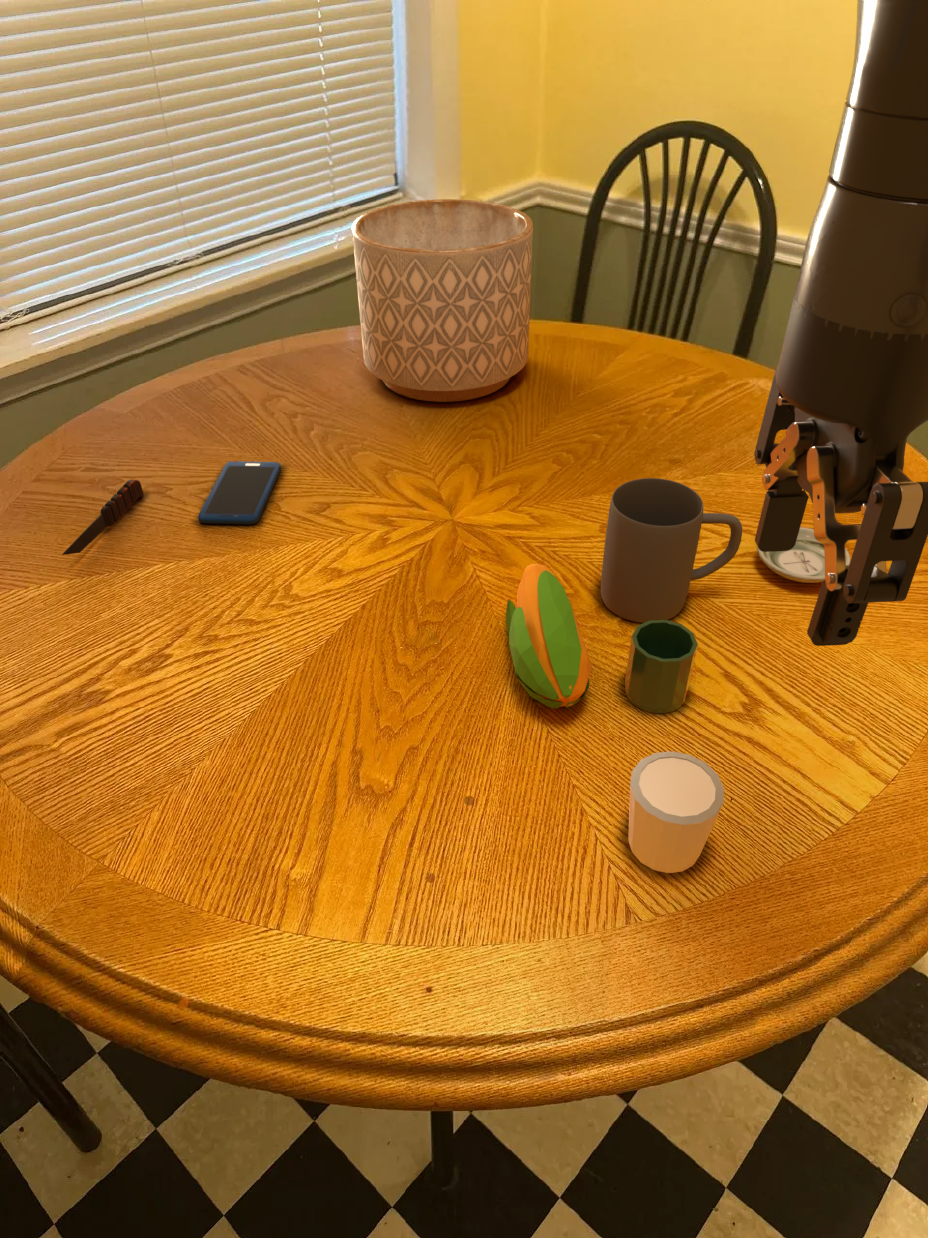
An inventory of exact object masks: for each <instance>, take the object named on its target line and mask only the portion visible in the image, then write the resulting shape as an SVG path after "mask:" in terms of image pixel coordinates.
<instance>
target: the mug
mask: <svg viewBox="0 0 928 1238" xmlns="http://www.w3.org/2000/svg"><path fill="white" fill-rule="evenodd" d="M708 524H711V525H712V524H714V525H717V524H718V525H720V524H721V525H727V526H728V527H729V530H730V533H729V539H728V543H727V545H726V548H725V549H724V550H723V551H722V552H721V553H720V554H719V555H717V556H716V557H715V558H713V559H712V560H711V561H709V562H707V563H706V564H704V565H702V566H700V567H697V568H694V566H695V561H696V556H697V551H698V545H699V540H700V534H701V531H702V525H708ZM742 539H743V525H742V522H741V520H740V519H739V518H738V517H737V516H735V515H733V514H731V513H730V514H729V513H721V512H719V513H718V512H704V502H703V499H702V498H701V496H700V495H699V494H698V493H697V492H696V491H695V490H694V489H693V488H691V487H689V486H687V485H685V484H683V483H680V482H678V481H674V480H671V479H665V478H658V477H657V478H656V477H645V478H636V479H633V480H629V481H626V482H624V483H622V484H620V485H619V486H617V488H615V490H614V491H613V493H612V494H611V498H610V503H609V507H608V516H607V522H606V530H605V539H604V547H603V554H602V555H603V556H602V566H601V576H600V596H601V600H602V602H603V604H604V606H605V607H606V608H607V609H608V610H609V611H610V612H612V613H613V614H614V615H616V616H618V617H620V618H623V620H627V621H630V622H635V623H641V624H643V623H645V622H647V621H650V620H669V621H670V620H672V619H673V618H675V617H676V616H677V615H678V614H680V612H681V611H682V610H683V609H684V606H685V604H686V601H687V597H688V593H689V589H690V584H691V581H697V580H702V579H703V578H705V577H708V576H711V575H712V574H714V573H715V572H717V571H719V570H720V569H722V568H723V567H724V566H726V565H727V564H729V562H731V561H732V559H734V557H735V556H736V555H737V553H738V552H739V549H740V546H741V543H742Z"/></svg>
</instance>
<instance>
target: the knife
mask: <svg viewBox="0 0 928 1238" xmlns="http://www.w3.org/2000/svg"><path fill="white" fill-rule="evenodd" d="M141 483H142V482H141V481H140V480H139V479H129V480H127V481H126V482H125V483H124V484H123V485H122V486H121V487H120V488H119V489H118V491H116V493H115V494H113V495H112V497H111V498H110V499H109V500H108V501H107V502H105V504H104V505H103V506H102V507H101V508H100V514H99V515H98V516H97V517H96V518H95V519H94V520H93V521H92V522H91V523H90V524H89V526H87V527H86V529H84V531H82V533H81V534H80V535H79V536H78V537H77V538H76V539H75V540H73V542H72V543H71V544H70V545H69V546H68V547H67V548H66V550H64V551H63V553H62V554H61V555H62V556H66V555H74V554H80V553H81V552H82V551H83V550H84V549H86V548H87V547H88V546H89V545H90V544H91V543H92V542H93V541H94V540H95V539H96V538H97V537H99V535H100V534H102V532H104V531H105V530H106V529H107V528H109V527H112V526H114V525H115V524H116V523H118V521H119V520H120V519H121V518H122V516H124V515H125V513H127V511H128V510H129V509H130V508H131V507H132V506H133V504H135V503H136V502H137V501H138V499H140V498H144V490H143V487H142V484H141Z"/></svg>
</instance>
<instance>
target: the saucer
mask: <svg viewBox="0 0 928 1238" xmlns="http://www.w3.org/2000/svg"><path fill="white" fill-rule="evenodd" d="M756 551H757V555H758V557H759V558H760V560H761V561H762V563H763V564H764V565H766V567H768V568H769V569H770V570H771V571H773V573H775V574H776V575H778V576H780V577H782V578H785V579H787V580H791V581H794V582H799V583H807V584H808V583H809V584H810V583H811V584H812V583H813V584H815V583H822V582H823V581H824V580H825V554H824V545H823V544H822V543H820V542H819V541H817V540H816V539H815V537H814V528H809V527H802V526H800V530H799V533H798V537H797V540H796V544H795V546H794V547H793V548H792V549H790V550H788V551H773V552H762V551H760V550H759V548H758V546H757V545H756ZM845 555H846V565H850V561H851V556H850V552H849V551H848V549H847V548H846V547H845Z"/></svg>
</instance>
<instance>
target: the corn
mask: <svg viewBox="0 0 928 1238" xmlns="http://www.w3.org/2000/svg"><path fill="white" fill-rule="evenodd" d="M573 607H574V606H573V605H572V602H571V599H570V597H569V596H568V594H567V593H566V590H565V588H564V586H563V584H562V583H561V582H560V581H559V579H558V578H557V577H556V575H555V574H554V573H553V572H552V571H551V570H550V568H549V567H548V566H547V565H546V564H541V563H531V564H528V565H526V566H525V568H524V570H523V574H522V577H521V580H520V583H519V586H518V589H517V592H516V605H515V604H514V602H513V601H512V600H511V599H510V598H508V600H507V603H506V610H505V620H506V631H507V638H508V643H509V645H508V646H509V652H510V654H511V660H512V664H513V668H514V673H515V676H516V678H517V680H518V682H519V683H520V685H521V686H522V688H523V689H524V691H525V692H526V693H527V695H529V697H530V698H532V699H533V700H535V701H537V702H539V703H540V704H542V705H544V706H546V707H548V708H551V709H558V708H560V707H564V708H565V709H567V708H570V707H573V706H574V705H576V704H577V703H578V702H579V701H581V700H582V699H584V697H585V696H586V693H587V692H588V689H589V687H590V676H591V673H592V670H593V665H592V662H591V659H590V655H589V652H588V649H587V646H586V643H585V641H584V637H583V634H582V632H581V628H580V625H579V623H578V619H577V616H576V613H575V610H574V608H573Z"/></svg>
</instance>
